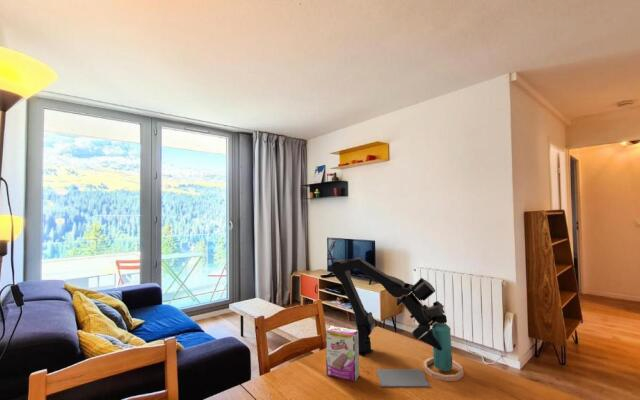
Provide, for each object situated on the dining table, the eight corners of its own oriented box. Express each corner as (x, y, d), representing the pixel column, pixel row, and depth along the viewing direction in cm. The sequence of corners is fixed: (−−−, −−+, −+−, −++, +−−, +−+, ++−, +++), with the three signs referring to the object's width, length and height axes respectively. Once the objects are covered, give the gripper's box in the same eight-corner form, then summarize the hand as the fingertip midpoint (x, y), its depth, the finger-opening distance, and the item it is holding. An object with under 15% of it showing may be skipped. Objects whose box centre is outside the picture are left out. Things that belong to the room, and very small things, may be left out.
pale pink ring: (416, 369, 110) (416, 365, 110) (437, 357, 119) (436, 353, 119) (449, 385, 100) (449, 381, 100) (469, 371, 108) (469, 367, 108)
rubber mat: (381, 387, 100) (381, 385, 100) (376, 370, 110) (376, 369, 110) (429, 387, 100) (429, 385, 100) (420, 370, 110) (420, 369, 110)
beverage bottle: (454, 376, 106) (452, 318, 106) (434, 374, 107) (432, 318, 107) (450, 366, 112) (448, 312, 112) (431, 364, 113) (430, 311, 114)
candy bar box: (325, 375, 108) (324, 330, 108) (331, 368, 113) (330, 324, 113) (355, 382, 103) (354, 334, 104) (360, 375, 108) (358, 329, 108)
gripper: (419, 302, 105) (453, 343, 98) (438, 290, 119) (469, 324, 112) (399, 320, 110) (430, 359, 103) (419, 306, 124) (448, 340, 117)
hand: (445, 345), depth 109 cm, fingers open, 9 cm apart
